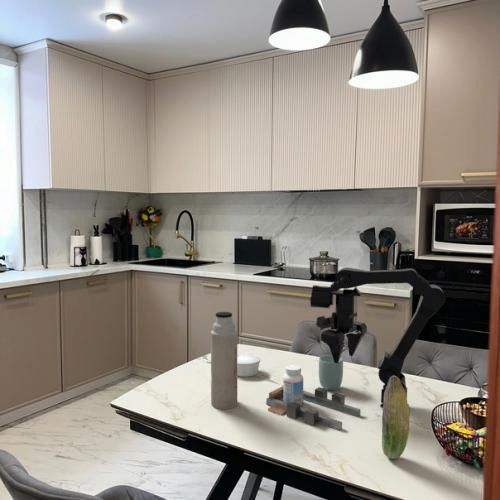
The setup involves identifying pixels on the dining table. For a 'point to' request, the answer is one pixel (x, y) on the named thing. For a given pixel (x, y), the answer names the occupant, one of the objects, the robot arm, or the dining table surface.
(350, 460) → the dining table surface
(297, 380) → the pill bottle
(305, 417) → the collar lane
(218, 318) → the thermos bottle
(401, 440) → the vegetable
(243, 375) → the ramekin
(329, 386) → the cup
